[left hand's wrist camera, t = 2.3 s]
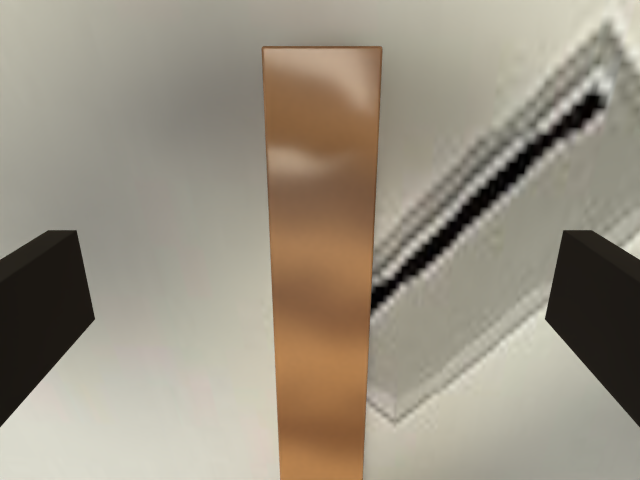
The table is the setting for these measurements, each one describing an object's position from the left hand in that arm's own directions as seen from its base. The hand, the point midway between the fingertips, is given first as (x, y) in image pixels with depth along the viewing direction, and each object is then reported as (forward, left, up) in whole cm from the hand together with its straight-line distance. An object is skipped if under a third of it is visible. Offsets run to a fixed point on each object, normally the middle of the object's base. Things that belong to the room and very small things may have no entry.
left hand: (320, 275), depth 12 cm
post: (+17, -19, -16) cm, 31 cm away
